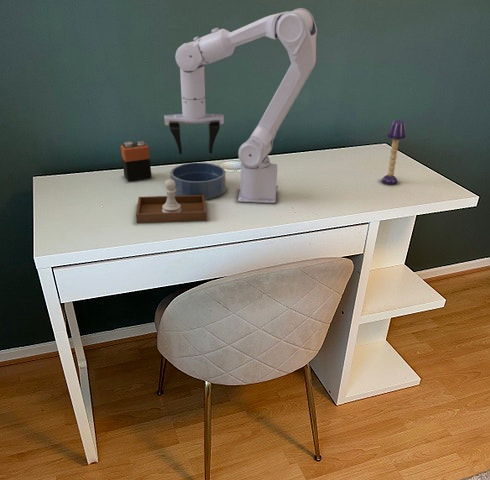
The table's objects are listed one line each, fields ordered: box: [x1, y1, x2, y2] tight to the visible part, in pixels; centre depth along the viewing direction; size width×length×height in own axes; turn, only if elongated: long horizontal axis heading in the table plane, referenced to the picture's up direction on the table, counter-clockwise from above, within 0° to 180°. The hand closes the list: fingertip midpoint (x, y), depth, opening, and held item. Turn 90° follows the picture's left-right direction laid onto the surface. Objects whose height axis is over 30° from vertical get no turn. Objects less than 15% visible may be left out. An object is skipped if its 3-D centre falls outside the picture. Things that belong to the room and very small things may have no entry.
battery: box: [120, 140, 152, 182], centre depth 137 cm, size 4×7×10 cm, turn 115°
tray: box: [135, 195, 208, 224], centre depth 121 cm, size 16×10×2 cm, turn 97°
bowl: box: [169, 162, 227, 200], centre depth 132 cm, size 14×14×5 cm
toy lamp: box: [381, 119, 406, 186], centre depth 136 cm, size 5×5×17 cm
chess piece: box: [162, 178, 182, 213], centre depth 119 cm, size 5×5×8 cm
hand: (195, 152), depth 129 cm, fingers open, 7 cm apart
